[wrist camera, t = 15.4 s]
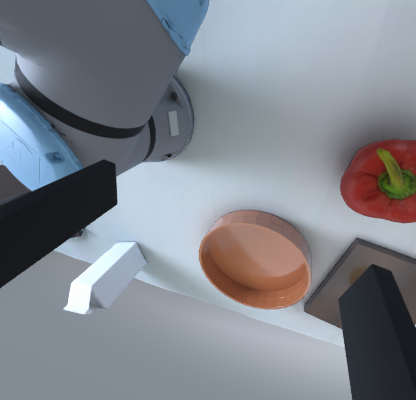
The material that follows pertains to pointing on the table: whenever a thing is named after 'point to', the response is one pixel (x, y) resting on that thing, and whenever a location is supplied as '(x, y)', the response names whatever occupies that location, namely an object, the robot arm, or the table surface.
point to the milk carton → (105, 278)
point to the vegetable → (383, 181)
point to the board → (352, 269)
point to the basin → (256, 259)
